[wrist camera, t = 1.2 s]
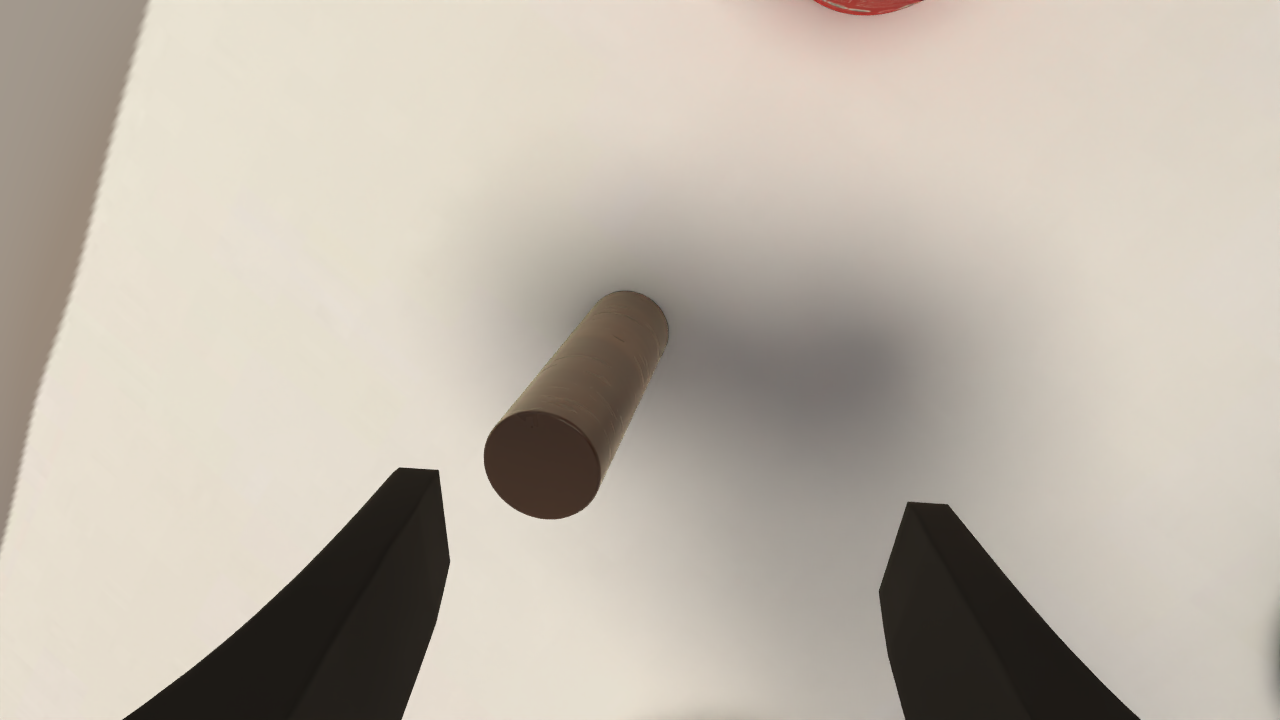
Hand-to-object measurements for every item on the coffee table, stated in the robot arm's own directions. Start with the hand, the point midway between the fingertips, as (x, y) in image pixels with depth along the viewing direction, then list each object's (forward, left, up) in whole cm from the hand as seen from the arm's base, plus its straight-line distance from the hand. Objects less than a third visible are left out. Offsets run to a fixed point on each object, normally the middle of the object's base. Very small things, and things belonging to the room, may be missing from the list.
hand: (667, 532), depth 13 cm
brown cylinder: (-1, +3, -13) cm, 13 cm away
